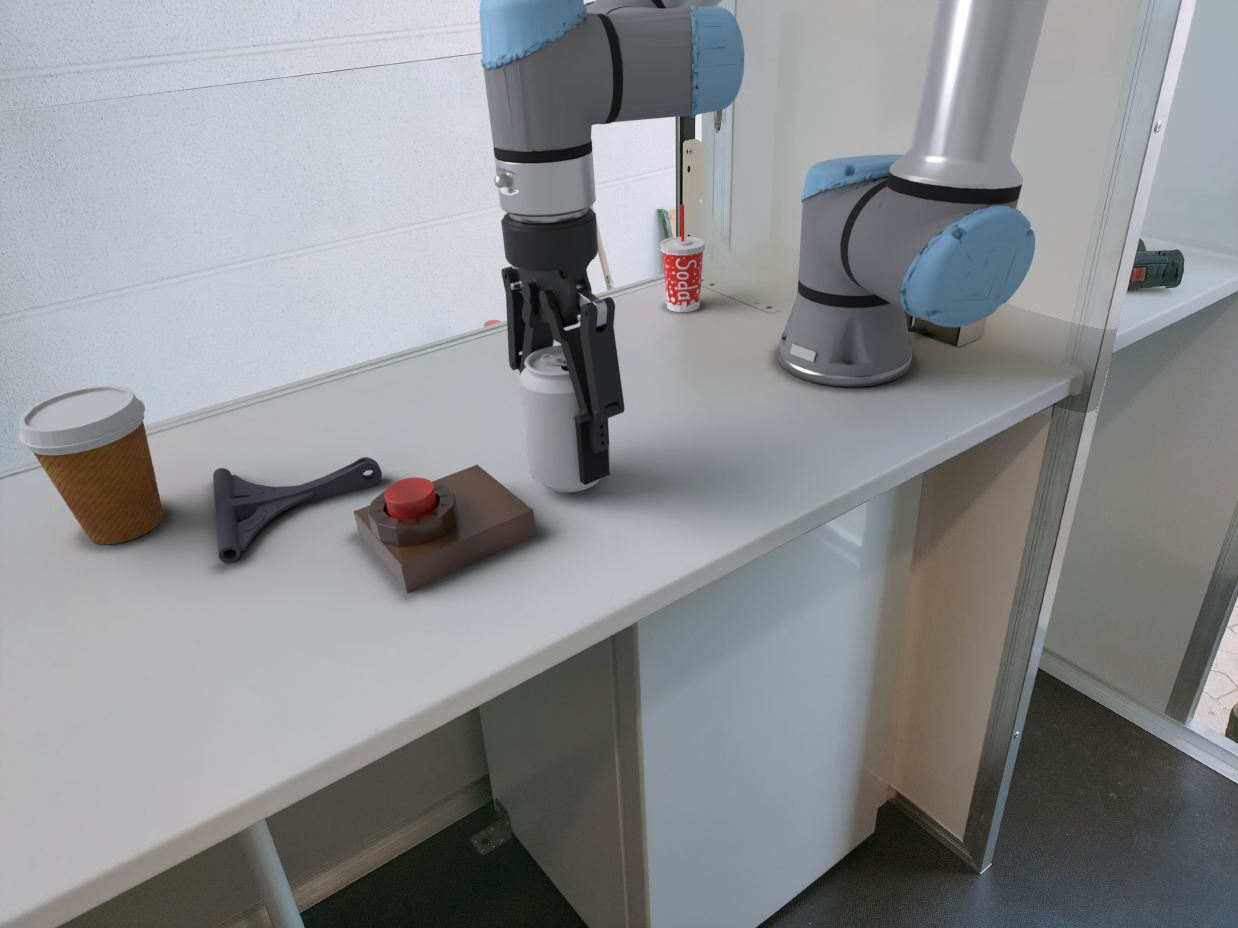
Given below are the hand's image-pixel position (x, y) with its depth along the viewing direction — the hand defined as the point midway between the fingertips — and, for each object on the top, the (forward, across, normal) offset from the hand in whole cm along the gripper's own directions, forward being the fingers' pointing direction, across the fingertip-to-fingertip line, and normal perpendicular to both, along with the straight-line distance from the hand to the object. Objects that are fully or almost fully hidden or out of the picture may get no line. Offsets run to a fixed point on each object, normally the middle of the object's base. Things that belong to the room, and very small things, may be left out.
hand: (569, 460), depth 79 cm
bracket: (+3, -14, -21) cm, 25 cm away
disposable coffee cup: (+3, -21, -35) cm, 41 cm away
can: (+2, 0, 0) cm, 2 cm away
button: (-1, 0, -16) cm, 16 cm away
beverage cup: (+3, -29, +38) cm, 48 cm away
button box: (+3, 0, -13) cm, 13 cm away
